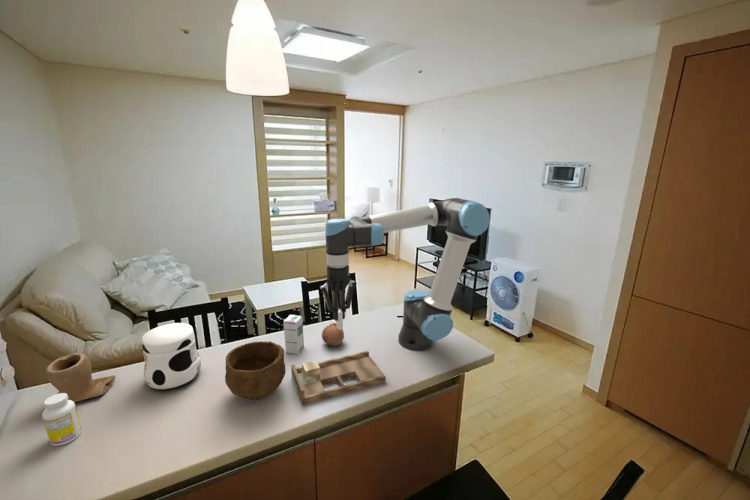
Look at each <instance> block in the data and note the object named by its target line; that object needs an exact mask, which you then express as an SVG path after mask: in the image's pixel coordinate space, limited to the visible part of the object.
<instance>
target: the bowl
mask: <svg viewBox="0 0 750 500" xmlns="http://www.w3.org/2000/svg"><path fill="white" fill-rule="evenodd" d="M285 353H286V350H285V349H284V348H283V347H282V345H280V344H277V343H275V342H272V341H253V342H248V343H244V344H241V345H238V346H236V347H235V348H233V349H231V350H230V351H229V352H228V353H227V355H226V356H225V375H224V378H225V380H224V381H225V385H226V386H227V388H228V389H229V391H230V392H231V393H232V394H233V395H234V396H236V397H237V398H240V399H243V400H247V401H259V400H260V401H261V400H263V399H266V398H268V397H269V396H271V395H272V394H274V392H275V391H277V389H278V388H279V387H280V386H281V384H282V382H283V379H284V378H285V375H286V363H285Z"/></svg>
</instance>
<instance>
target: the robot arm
mask: <svg viewBox="0 0 750 500" xmlns="http://www.w3.org/2000/svg"><path fill="white" fill-rule="evenodd" d="M489 224H490V213H489V211H488V209H487V207H486V206H485V205H483V204H482V203H480V202H477V201H475V200H468V199H463V198H459V197H451V198H446V199H442V200H438V201H436V200H435V201H431V202H429V203H427V205H424V206H417V207H412V208H406V209H400V210H394V211H389V212H382V213H378V214H377V213H376V214H373V215H372V214H371V215H366V216H353V215H352V216H350V217H348V218H347V219H346V218H331V219H328V220H327V221H326V222H325V233H324V234H325V235H324V236H325V250H326V251H325V253H326V265H327V266H326V276H327V277H326V280H325V283H324V284H323V285H322V284H321V285H319V289H320V290H321V291H322V293H323V296H324V301H325V302H326V306H327V310H328V311H329V312H330V313H333V314H332V315H333V320H334V321H335V323H336V327H337V328H338V329H339V330H340V329H342V330H343V329H344V327H343V326H344V325H343V324H344V323H343V321H344V320H345V319H346V312H347V310H349V309H350V308H351V304H352V299H353V295H354V291H355V288H356V286H357V282H356V281H355V280H352V279H351V277H350V265H349V263H350V255H349V254H350V253H349V252H350V251H349V249H350V248H357V247H358V248H359V247H374V246H379V245H382V244H383V242H384V237H385V234H387V233H391V232H397V231H402V230H408V229H413V228H419V227H423V226H428V225H429V226H431V227H437V226H446V229H445V233H446V235H447V240H446V243H445V246H444V249H443V251H442V254H441V258H440V261H439V264H438V267H437V271H436V273H435V276H434V279H433V282H432V285H431V289H430V291H427V290H423V289H422V290H421V289H420V290H419V289H415V290H410V291H407V292H406V293H405V294H404V297H403V314H402V317H403V318H402V326H401V328H400V330H399V333H398V340H397V341H398V343H399V344H400V345H401V346H402V347H403V348H405V349H407V350H412V351H425V350H428V349H430V348H431V347H432V346H433V344H434V341H439V340H442V339H444V338H447V336H449V334H450V333H451V332H452V330H453V328H454V321H453V319H452V317H451V316H452V312H453V309H454V308H453V306H452V303H451V302H452V299H453V297H454V295H455V294H454V293H455V291H456V288H457V285H458V281H459V280H460V276H461V272H462V270H463V268H464V265H465V261H466V258H467V256H468V252H469V250H470V247H471V244H473V243H475V242H477V239H478V236H481V235H483V233H485V232H486V231H487V229H488V227H489ZM346 288H347V292H346ZM329 289H331V293H332V295H331V297H332V298H330V294H329V291H328V290H329ZM331 299H332V301H331Z"/></svg>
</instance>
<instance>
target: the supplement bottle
mask: <svg viewBox="0 0 750 500" xmlns="http://www.w3.org/2000/svg"><path fill="white" fill-rule="evenodd" d="M43 404H44V408H45V409H44V410H43V412H42V414H41V417H42V420H43V424H44V427H45V430H46V434H47V438H48V441H49V444H50V445H51V446H54V447H60V446H63V445H66V444H69V443H71V442H73V441H74V440H76V438H78V437H79V436H80V434H82V433H81V432H82V426H81V422H80V419H79V414H78V411H77V406H76V402H73V401H71V400H68V395H67V394H66V393H59V394H57V393H56V394H53V395H51V396H49V397H48V398H46V399H45V400H44V402H43Z"/></svg>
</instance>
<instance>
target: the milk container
mask: <svg viewBox="0 0 750 500" xmlns="http://www.w3.org/2000/svg"><path fill="white" fill-rule="evenodd" d="M141 338H142V339H141V344H142V345H141V347H142V353H143V358H144V366H143V378H144V380H145V383H146V384H147V386H149V387H150V388H151V389H155V390H172V389H176V388H179V387H181V386H184V385H186V384H188V383H189V382H191V381H192V380H193V379H195V378H196V377H197V376H198V375H199V372H200V370H201V367H202V366H201V365H202V361H201V356H200V353H199V352H198V349H197V344H196V343H197V342H196V336H195V332H194V328H193V326H192V325H190V324H189V323H184V322H174V323H166V324H162V325H159V326H156V327H155V328H152V329H150V330H148V331H147V332H145V333H144V335H143V336H142V337H141Z"/></svg>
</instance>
